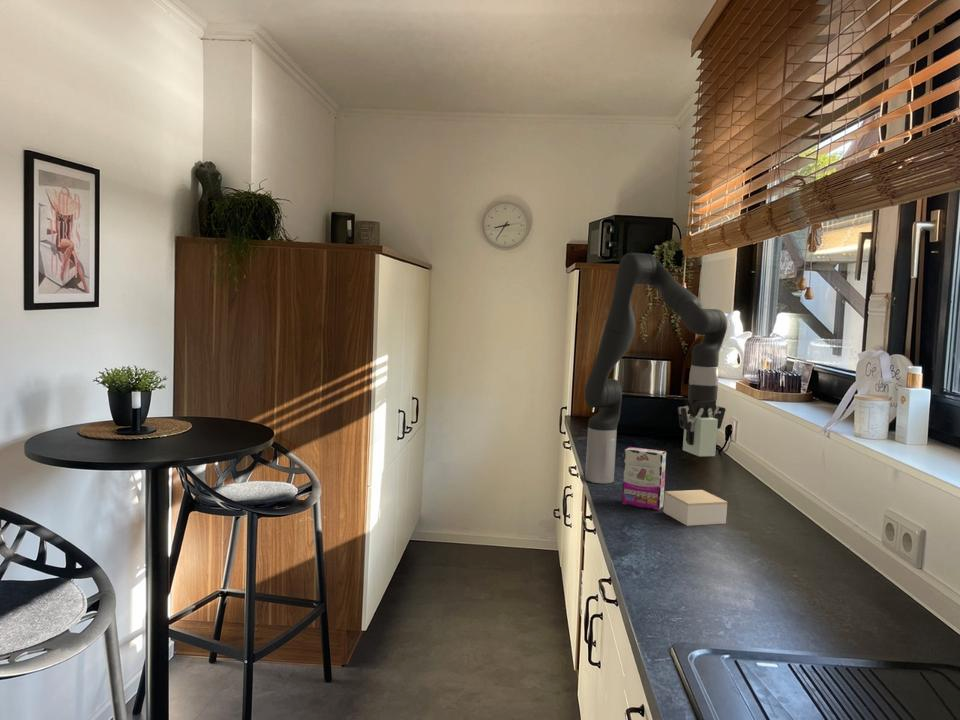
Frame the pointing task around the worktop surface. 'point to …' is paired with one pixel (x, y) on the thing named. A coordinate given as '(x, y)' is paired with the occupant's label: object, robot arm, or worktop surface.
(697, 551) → the worktop surface
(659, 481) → the candy bar box
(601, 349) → the robot arm
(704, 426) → the sage carton
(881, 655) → the worktop surface
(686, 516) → the podium
